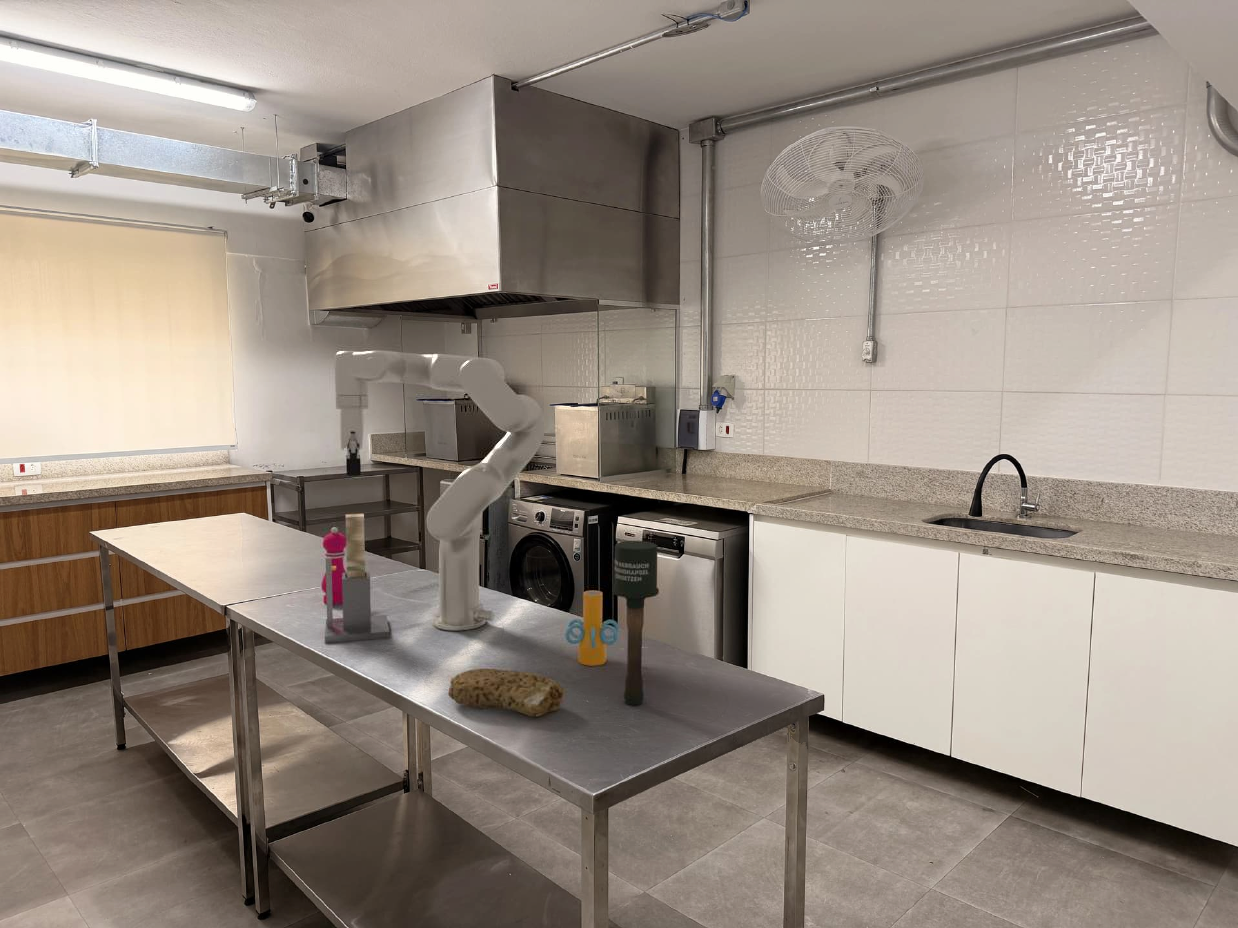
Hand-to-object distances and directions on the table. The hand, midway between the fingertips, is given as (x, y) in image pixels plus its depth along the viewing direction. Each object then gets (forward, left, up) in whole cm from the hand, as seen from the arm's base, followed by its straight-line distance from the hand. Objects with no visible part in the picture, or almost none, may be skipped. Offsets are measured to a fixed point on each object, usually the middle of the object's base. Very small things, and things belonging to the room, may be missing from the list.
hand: (353, 473), depth 201 cm
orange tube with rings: (-65, +12, -36) cm, 76 cm away
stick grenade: (-79, +31, -36) cm, 92 cm away
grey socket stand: (-6, +9, -36) cm, 38 cm away
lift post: (-6, +9, -29) cm, 31 cm away
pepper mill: (+14, -12, -36) cm, 41 cm away
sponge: (-57, +40, -37) cm, 78 cm away
